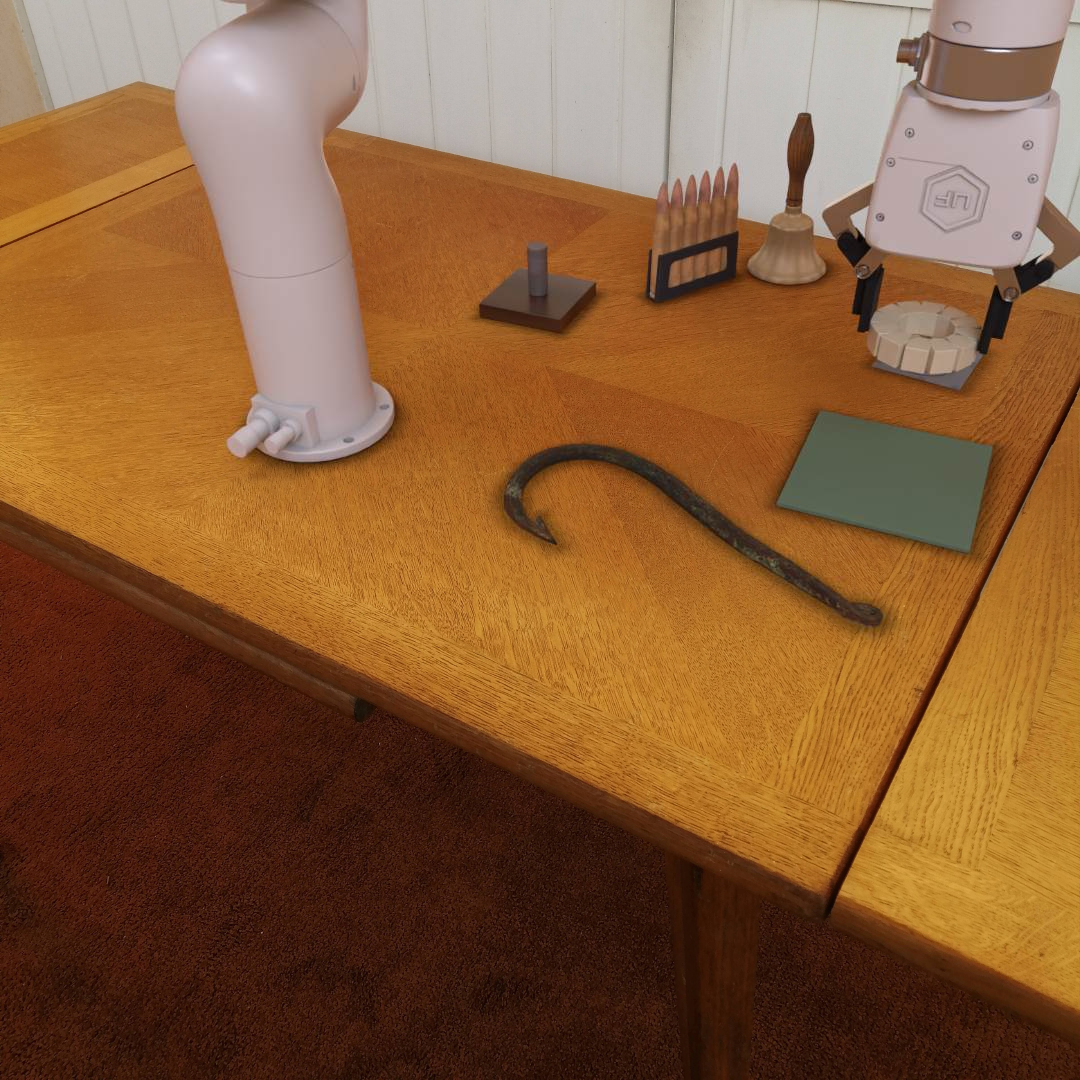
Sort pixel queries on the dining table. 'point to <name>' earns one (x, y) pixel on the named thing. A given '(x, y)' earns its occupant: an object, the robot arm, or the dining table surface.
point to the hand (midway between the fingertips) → (924, 333)
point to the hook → (691, 505)
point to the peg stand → (538, 295)
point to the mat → (890, 480)
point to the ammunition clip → (694, 237)
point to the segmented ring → (917, 354)
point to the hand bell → (792, 222)
